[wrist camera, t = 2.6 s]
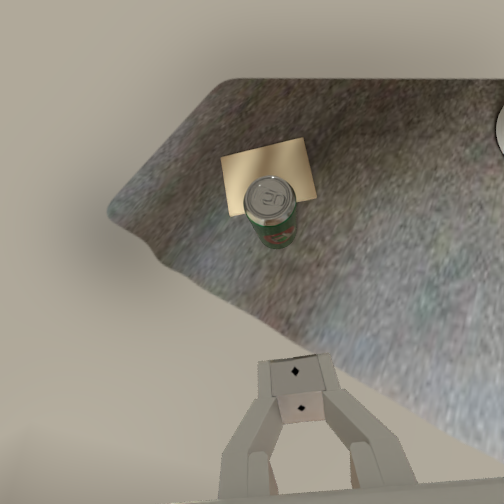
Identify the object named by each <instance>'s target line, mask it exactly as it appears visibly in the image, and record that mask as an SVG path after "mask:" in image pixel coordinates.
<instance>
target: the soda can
mask: <svg viewBox="0 0 504 504" xmlns="http://www.w3.org/2000/svg"><path fill="white" fill-rule="evenodd" d="M243 207H244V211H245V213H246V215H247V217H248V219H249V221H250V222H251V224H252V226H253V228H254V230H255V231H256V233H257V235H258V237H259V238H260V240H261V242H262V243H263V244H264V245H265V246H267V247H269V248H272V249H282V248H285V247H287V246H288V245H289V244H291V243H292V241H293V240H294V238H295V236H296V194H295V192H294V189H293V188H292V186H291V185H290V184H289V183H288V182H286V181H285V180H283V179H282V178H280V177H277V176H273V175H267V176H262V177H260V178H258V179H256V180H255V181H253V182H252V183H251V184H250V186H249V187H248V189H247V191H246V193H245V196H244V200H243Z"/></svg>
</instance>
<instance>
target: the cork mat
mask: <svg viewBox="0 0 504 504" xmlns="http://www.w3.org/2000/svg"><path fill="white" fill-rule="evenodd" d="M221 163H222V169H223V176H224V182H225V189H226V195H227V202H228V208H229V215H230V216H235V215H240V214H245V211H244V207H243V200H244V196H245V193H246V191H247V189H248V187H249V186H250V184H251V183H252V182H253V181H255V180H256V179H258V178H260V177H262V176H267V175H273V176H277V177H280V178H282V179H283V180H285V181H286V182H288V183H289V184H290V185H291V186H292V188H293V189H294V192H295V194H296V202H301V201H305V200H310V199H315V198H317V195H316V191H315V186H314V182H313V178H312V173H311V169H310V165H309V160H308V156H307V152H306V147H305V143H304V139H303V137H302V138H298V139H294V140H289V141H285V142H281V143H277V144H273V145H269V146H265V147H261V148H257V149H253V150H249V151H244V152H240V153H236V154H232V155H228V156H224V157H221Z"/></svg>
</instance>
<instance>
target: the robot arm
mask: <svg viewBox="0 0 504 504" xmlns="http://www.w3.org/2000/svg"><path fill="white" fill-rule="evenodd" d="M496 135H497V140H498V143H499V146H500V148H501V150H502V152H503V154H504V106H503V108H502V110H501V112H500V114H499V116H498V119H497V125H496ZM321 420H326V422H327V424H328V425H329V426H330V427H331V429H332V430H333V431H334V432H335V434H336V435H337V436H338V437H339V439H340V440H341V441H342V442H343V444H344V445H345V446H346V447H347V449H348V450H349V451H350V473H351V485H352V489H344V490H332V491H319V492H307V493H293V494H281V495H279V494H278V486H277V483H276V480H275V477H274V474H273V470H272V467H271V464H270V461H269V460H270V457H271V455H272V453H273V450H274V447H275V445H276V443H277V440H278V437H279V435H280V432H281V430H282V428H283V425H284V424H291V423H298V422H308V421H321ZM167 504H504V477H497V478H485V479H474V480H473V479H472V480H459V481H446V482H435V483H421V484H418V482H417V480H416V478H415V476H414V473H413V471H412V468H411V466H410V464H409V462H408V459H407V457H406V455H405V452H404V450H403V448H402V446H401V443H400V441H399V439H398V437H397V436H396V435H394V433H392V432H391V431H390V430H389V429H388V428H387V427H386V426H385V425H383V423H382V422H380V421H379V420H378V419H377V418H376V417H375V416H374V415H373V414H372V413H370V412H369V411H368V410H367V409H366V408H365V407H364V406H363V405H362V404H361V403H360V402H359V401H358V400H356V399H355V398H354V397H353V396H352V395H351V394H350V393H349V392H348V391H347V390H346V389H341V388H340V384H339V381H338V378H337V375H336V372H335V369H334V365H333V362H332V359H331V356H330V354H329V353H323V354H317V355H316V354H314V355H307V356H300V357H293V358H287V359H278V360H268V361H260V362H258V399H255V400H254V401H253V403H252V404H251V406H250V408H249V410H248V411H247V413H246V415H245V416H244V418H243V420H242V421H241V423H240V425H239V426H238V428H237V430H236V431H235V433H234V435H233V436H232V438H231V440H230V441H229V443H228V445H227V446H226V448H225V450H224V452H223V453H222V461H221V471H220V482H219V491H218V499H217V500H206V501H192V502H180V503H167Z"/></svg>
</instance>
